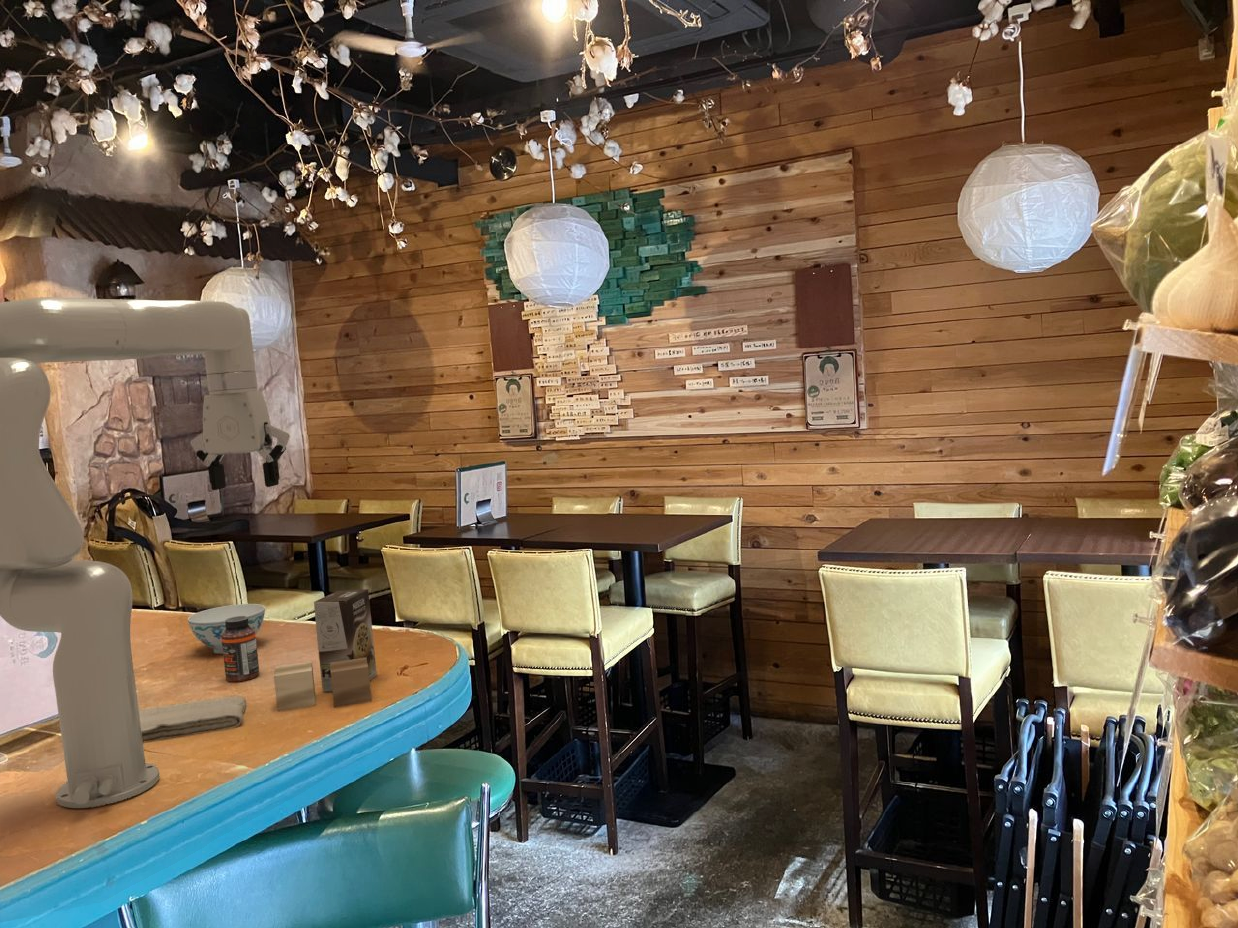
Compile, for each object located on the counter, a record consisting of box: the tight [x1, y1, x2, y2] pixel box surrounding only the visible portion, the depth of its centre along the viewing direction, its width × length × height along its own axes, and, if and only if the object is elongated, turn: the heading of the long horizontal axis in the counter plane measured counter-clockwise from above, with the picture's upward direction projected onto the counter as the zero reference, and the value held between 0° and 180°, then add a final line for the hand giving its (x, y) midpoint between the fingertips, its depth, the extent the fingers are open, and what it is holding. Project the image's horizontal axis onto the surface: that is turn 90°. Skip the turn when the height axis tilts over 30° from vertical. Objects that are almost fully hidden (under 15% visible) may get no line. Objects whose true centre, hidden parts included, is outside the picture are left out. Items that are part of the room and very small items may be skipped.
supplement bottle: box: [221, 616, 260, 683], centre depth 183 cm, size 6×6×11 cm
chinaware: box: [187, 603, 266, 655], centre depth 204 cm, size 15×15×8 cm
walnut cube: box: [330, 657, 372, 708], centre depth 165 cm, size 6×6×6 cm
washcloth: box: [139, 695, 247, 743], centre depth 159 cm, size 12×18×3 cm, turn 107°
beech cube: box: [273, 660, 316, 712], centre depth 166 cm, size 6×6×6 cm
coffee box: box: [313, 588, 378, 692], centre depth 173 cm, size 9×6×16 cm
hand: (245, 487), depth 163 cm, fingers open, 9 cm apart
